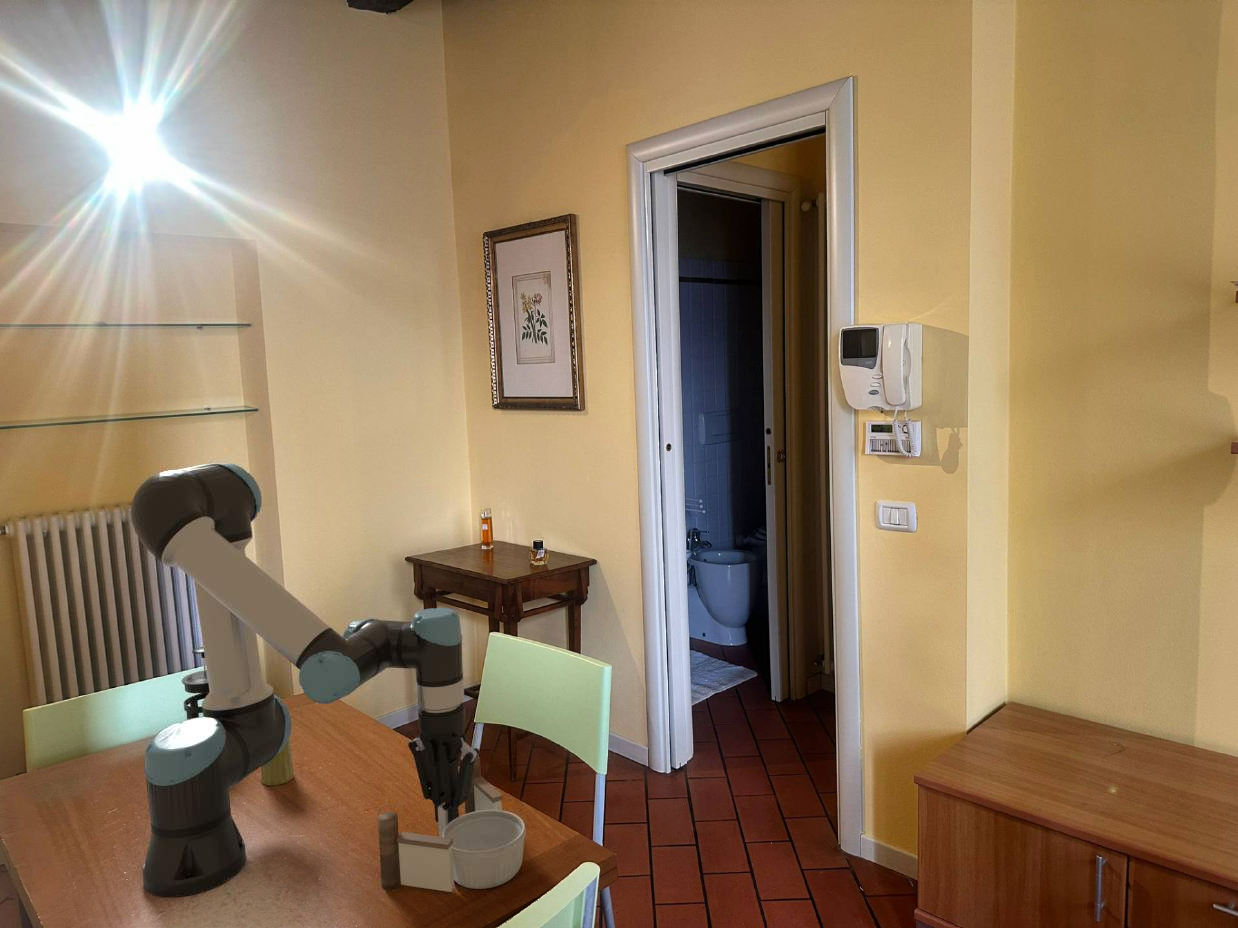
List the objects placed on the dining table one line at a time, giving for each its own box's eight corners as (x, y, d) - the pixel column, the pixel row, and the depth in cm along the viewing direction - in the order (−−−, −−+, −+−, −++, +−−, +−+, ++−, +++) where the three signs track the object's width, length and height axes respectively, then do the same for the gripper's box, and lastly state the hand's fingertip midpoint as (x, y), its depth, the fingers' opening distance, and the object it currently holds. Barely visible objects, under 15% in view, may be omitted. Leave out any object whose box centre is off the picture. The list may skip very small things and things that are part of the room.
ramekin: (452, 848, 149) (450, 809, 148) (530, 846, 149) (529, 807, 148) (436, 895, 136) (433, 852, 135) (522, 893, 136) (520, 850, 135)
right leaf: (504, 838, 151) (502, 795, 150) (494, 842, 150) (492, 798, 149) (483, 818, 158) (481, 776, 157) (474, 821, 157) (472, 779, 156)
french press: (175, 757, 187) (165, 651, 185) (213, 740, 196) (205, 638, 193) (213, 767, 182) (204, 658, 179) (250, 749, 190) (242, 645, 188)
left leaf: (399, 885, 138) (397, 837, 137) (405, 878, 140) (403, 831, 139) (449, 892, 136) (447, 844, 135) (455, 886, 138) (452, 838, 137)
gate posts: (392, 890, 138) (388, 823, 136) (377, 886, 139) (373, 819, 138) (486, 815, 160) (483, 756, 159) (472, 812, 161) (469, 754, 160)
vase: (287, 785, 173) (281, 715, 172) (255, 786, 174) (250, 715, 172) (298, 771, 179) (294, 703, 178) (268, 771, 180) (263, 703, 178)
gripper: (487, 701, 146) (493, 838, 149) (423, 690, 152) (430, 822, 154) (460, 718, 139) (466, 861, 142) (394, 706, 145) (402, 843, 148)
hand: (448, 840), depth 148 cm, fingers closed
